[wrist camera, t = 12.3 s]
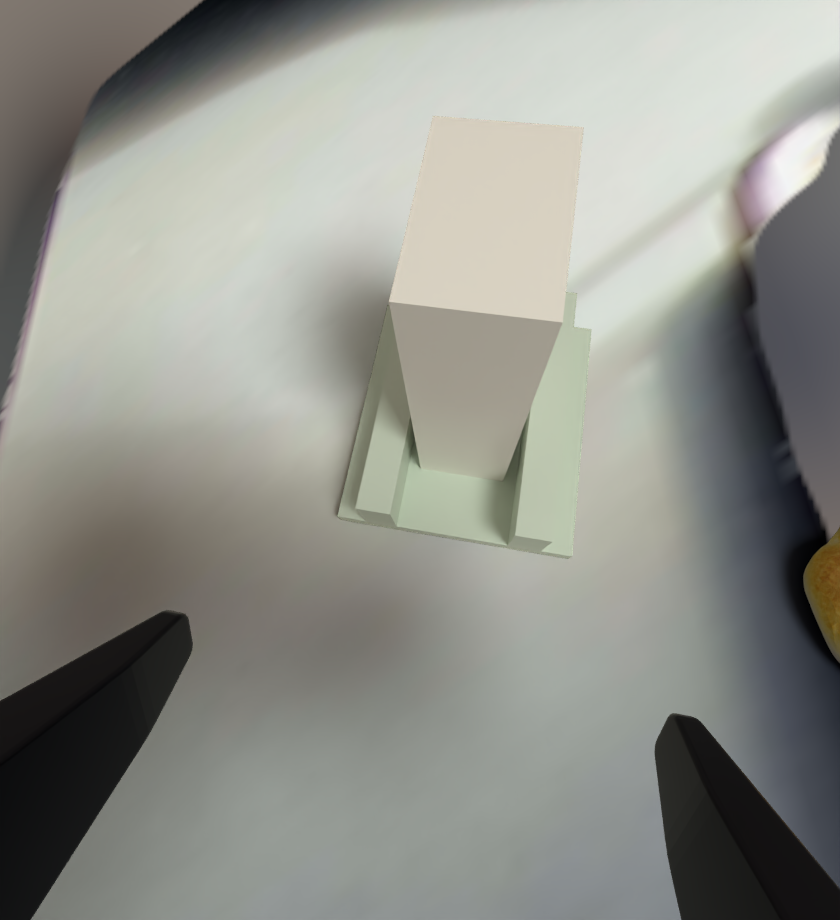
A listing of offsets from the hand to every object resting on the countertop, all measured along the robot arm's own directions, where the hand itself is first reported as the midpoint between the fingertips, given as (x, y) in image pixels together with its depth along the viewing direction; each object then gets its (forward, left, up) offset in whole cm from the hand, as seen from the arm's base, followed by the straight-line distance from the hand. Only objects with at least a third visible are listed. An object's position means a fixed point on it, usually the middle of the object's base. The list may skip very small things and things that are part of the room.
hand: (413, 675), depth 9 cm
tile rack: (+8, +7, -14) cm, 17 cm away
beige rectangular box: (+8, +7, -13) cm, 17 cm away
